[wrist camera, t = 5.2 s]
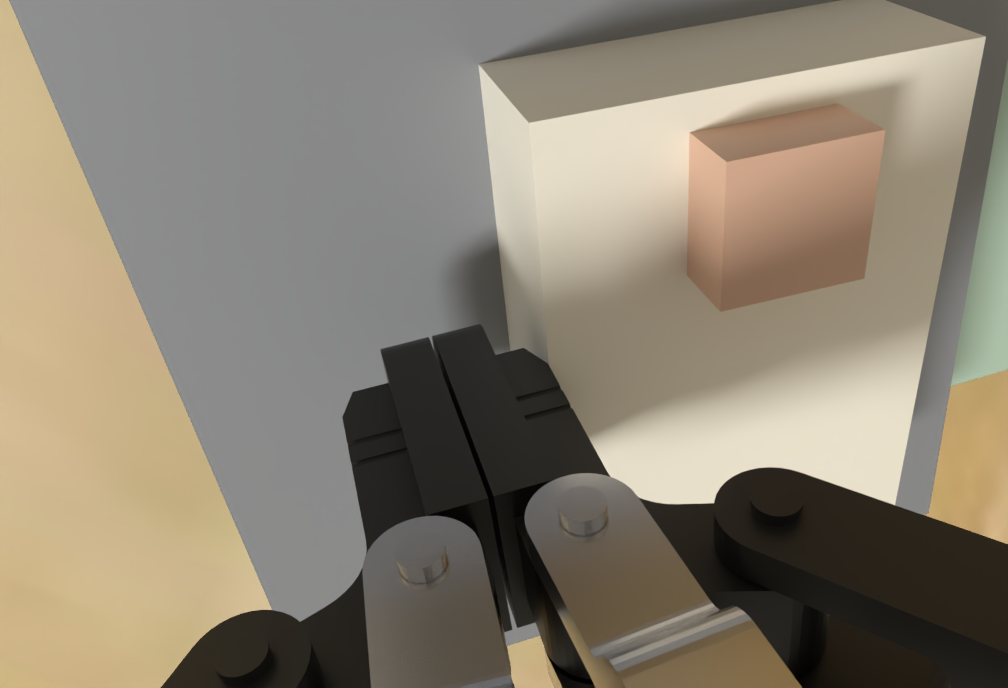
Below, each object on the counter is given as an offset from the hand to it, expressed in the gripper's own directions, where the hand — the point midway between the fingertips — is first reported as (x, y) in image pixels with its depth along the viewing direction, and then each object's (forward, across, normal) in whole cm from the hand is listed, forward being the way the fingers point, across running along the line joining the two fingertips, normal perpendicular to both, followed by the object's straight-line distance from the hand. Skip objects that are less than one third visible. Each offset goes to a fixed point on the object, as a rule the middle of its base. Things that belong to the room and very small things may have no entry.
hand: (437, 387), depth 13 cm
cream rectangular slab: (+2, -4, 0) cm, 5 cm away
